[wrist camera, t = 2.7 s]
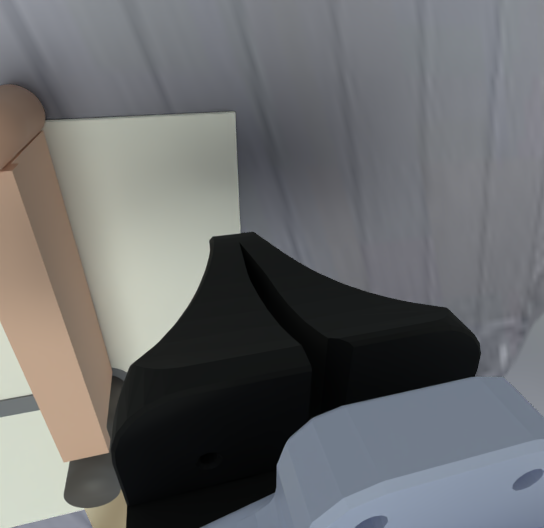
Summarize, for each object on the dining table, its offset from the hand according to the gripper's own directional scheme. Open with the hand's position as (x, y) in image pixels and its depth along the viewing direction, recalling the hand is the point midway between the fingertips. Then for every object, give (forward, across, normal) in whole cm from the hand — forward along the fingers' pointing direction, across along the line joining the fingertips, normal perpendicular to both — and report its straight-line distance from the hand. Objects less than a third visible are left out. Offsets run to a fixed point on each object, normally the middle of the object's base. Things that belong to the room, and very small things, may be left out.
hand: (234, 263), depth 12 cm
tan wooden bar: (+5, +6, +2) cm, 8 cm away
